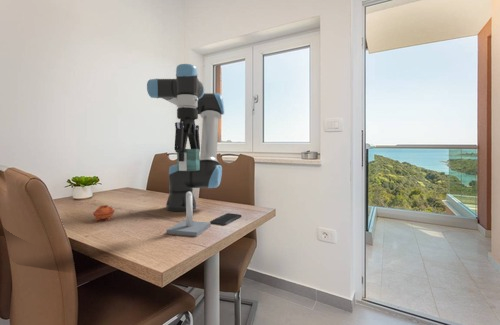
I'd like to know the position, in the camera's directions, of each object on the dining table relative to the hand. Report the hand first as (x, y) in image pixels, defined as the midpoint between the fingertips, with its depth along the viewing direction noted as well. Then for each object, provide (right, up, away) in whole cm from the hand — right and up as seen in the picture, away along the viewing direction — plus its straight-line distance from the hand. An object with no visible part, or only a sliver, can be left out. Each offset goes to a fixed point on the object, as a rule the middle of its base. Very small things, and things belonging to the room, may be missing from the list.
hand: (188, 169), depth 93 cm
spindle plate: (0, -23, +1) cm, 23 cm away
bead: (0, 0, 0) cm, 0 cm away
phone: (+13, -23, +15) cm, 30 cm away
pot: (-41, -23, +15) cm, 49 cm away
